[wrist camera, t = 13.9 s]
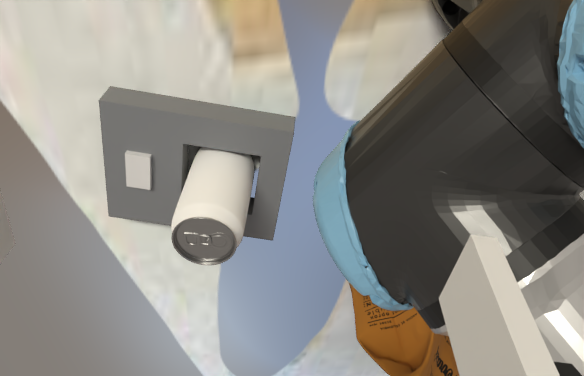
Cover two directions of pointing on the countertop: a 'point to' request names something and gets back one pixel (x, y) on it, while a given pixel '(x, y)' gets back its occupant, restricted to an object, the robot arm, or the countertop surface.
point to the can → (213, 206)
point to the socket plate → (186, 153)
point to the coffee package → (401, 340)
